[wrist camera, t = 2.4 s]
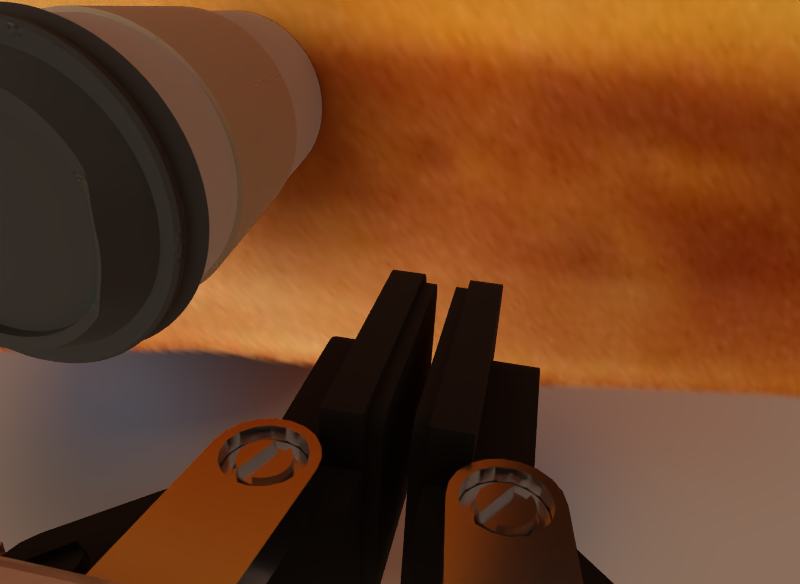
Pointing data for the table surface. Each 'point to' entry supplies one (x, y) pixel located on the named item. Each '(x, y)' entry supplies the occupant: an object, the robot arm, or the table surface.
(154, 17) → the coffee cup
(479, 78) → the table surface
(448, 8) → the table surface
